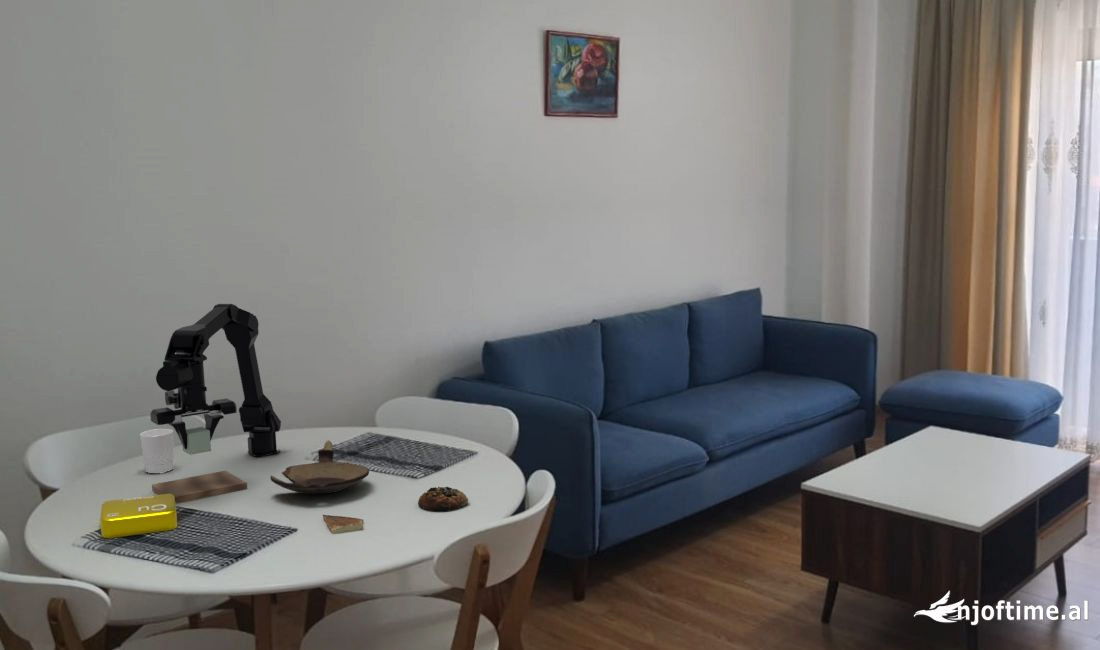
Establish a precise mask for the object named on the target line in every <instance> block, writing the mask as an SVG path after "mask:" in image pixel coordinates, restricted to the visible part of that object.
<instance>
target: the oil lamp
mask: <svg viewBox="0 0 1100 650" xmlns="http://www.w3.org/2000/svg"><path fill="white" fill-rule="evenodd" d="M317 453H318V462H313V463H312V462H311V463H305V464H297V465H291V466H288V467H286V468H285V470H284V471H282V472H281V474H282V476H284V477H285V478H286V479H287V480H288V481H290V482H286V481H283V480H281V479H279V478H277V477H275V476H274V475H270V477H269V478H270V481H271V482H273V483H274V484H275V485H277V486H279V487H282V488H284V489H287V490H289V491H292V492H296V493H301V494H307V495H320V494H323V495H324V494H331V493H337V492H339V491H342V490H344V489H347V488H349V487H351V486H353V485H355V484H357V483H359V482H361V481H363V480H364V479H366V477H367V476H369V473H370V470H369V468H368V467H366V466H364V465H361V464H356V463H349V462H339V461H336V462H335V461H333V459H334V454H335V453H334V450H333V443H332V441H331V440H330V439H329V440H326V441H325V443H324V446H323V448H322V449H319V450H318V452H317Z"/></svg>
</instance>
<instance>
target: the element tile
mask: <svg viewBox="0 0 1100 650" xmlns="http://www.w3.org/2000/svg"><path fill="white" fill-rule="evenodd" d="M176 504H177V503H175V497H174V495H172V494H161V495H158V494H156V495H147V496H139V497H136V496H134V497H130V498H129V497H128V498H122V499H114V500H107V501H104V502H103V503H102V504H101V508H100V510H101V511H100V533H101V538H104V539H114V538H123V537H128V536H135V535H136V536H138V535H145V534H150V533H151V534H152V533H157V532H158V533H159V532H166V531H171V530H174V529H177V528H178V513H177V505H176Z"/></svg>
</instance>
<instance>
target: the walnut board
mask: <svg viewBox="0 0 1100 650" xmlns="http://www.w3.org/2000/svg"><path fill="white" fill-rule="evenodd" d="M247 489H248V482H246V481H245V480H243V479H241V478H239V477H237V475H235V474H233V473H231V472H229V471H227V470H221V471H217V472H215V471H214V472H210V473H206V474H200V475H196V476H195V475H194V476H190V477H184V478H180V479H173V480H169V481H164V482H157V483H153V484H151V491H152V492H153V493H154V494H156V495H161V494H172V495H174V497H175V504H179V503H185V502H188V501H193V500H199V499H203V498H208V497H209V498H210V497H214V496H218V495H223V494H227V493H233V492H237V491H239V492H240V491H243V490H247Z"/></svg>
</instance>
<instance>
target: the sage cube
mask: <svg viewBox="0 0 1100 650" xmlns="http://www.w3.org/2000/svg"><path fill="white" fill-rule="evenodd" d="M186 436H187V449H184V447H183V446H182V452H184V453H186V454H188V455H190V456H192V455H196V454H201V453H207V452H212V448H211V447H212V446H211V445H212V444H211V443H212V442H210V430H208V429H206V428H205V427H204V426H199V427H192V428H186Z"/></svg>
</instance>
